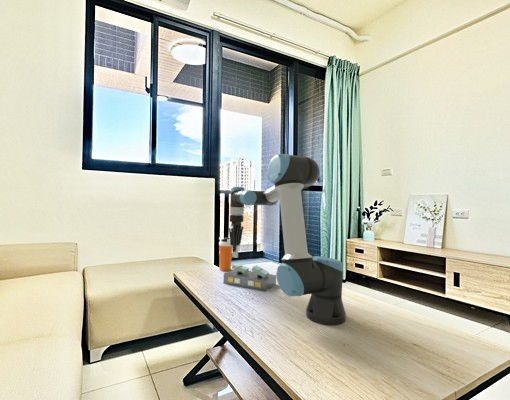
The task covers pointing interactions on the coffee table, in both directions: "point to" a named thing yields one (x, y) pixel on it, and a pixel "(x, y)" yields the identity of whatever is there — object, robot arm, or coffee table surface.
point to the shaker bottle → (225, 254)
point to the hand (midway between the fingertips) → (235, 257)
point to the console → (250, 280)
